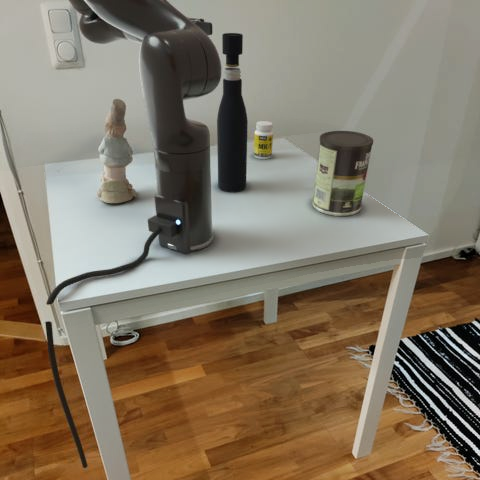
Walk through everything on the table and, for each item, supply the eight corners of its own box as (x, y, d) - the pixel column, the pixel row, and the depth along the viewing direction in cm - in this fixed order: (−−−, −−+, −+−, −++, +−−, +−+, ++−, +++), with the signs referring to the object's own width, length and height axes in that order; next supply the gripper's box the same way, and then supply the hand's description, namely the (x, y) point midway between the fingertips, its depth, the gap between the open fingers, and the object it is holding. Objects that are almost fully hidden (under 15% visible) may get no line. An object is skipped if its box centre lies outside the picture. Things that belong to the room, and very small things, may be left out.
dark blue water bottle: (251, 188, 107) (256, 35, 88) (228, 194, 104) (227, 37, 85) (236, 179, 111) (237, 31, 92) (212, 185, 108) (209, 33, 89)
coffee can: (368, 203, 101) (381, 136, 92) (349, 221, 94) (361, 149, 85) (324, 192, 105) (333, 127, 97) (303, 208, 98) (310, 139, 90)
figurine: (140, 203, 99) (127, 102, 87) (99, 207, 98) (80, 104, 85) (136, 187, 106) (124, 91, 94) (98, 190, 104) (81, 93, 92)
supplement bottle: (256, 160, 121) (257, 126, 116) (251, 154, 125) (252, 121, 120) (274, 158, 123) (276, 125, 117) (268, 152, 126) (270, 120, 121)
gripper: (114, 5, 96) (168, 10, 87) (167, 1, 104) (220, 6, 96) (120, 47, 100) (171, 56, 92) (169, 40, 109) (221, 48, 101)
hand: (196, 30), depth 94 cm, fingers open, 8 cm apart
